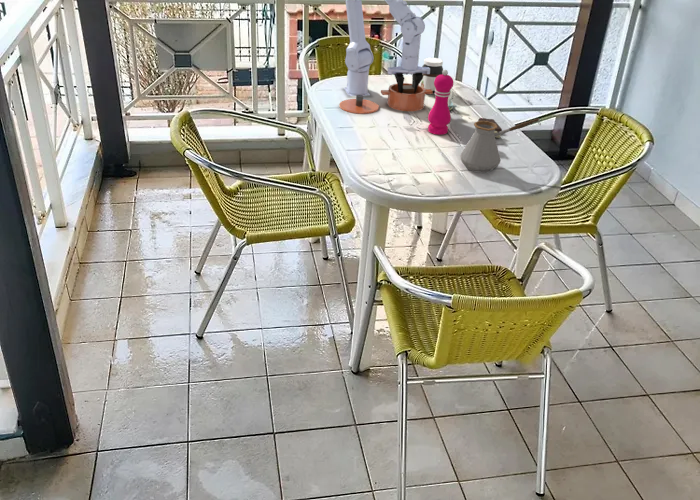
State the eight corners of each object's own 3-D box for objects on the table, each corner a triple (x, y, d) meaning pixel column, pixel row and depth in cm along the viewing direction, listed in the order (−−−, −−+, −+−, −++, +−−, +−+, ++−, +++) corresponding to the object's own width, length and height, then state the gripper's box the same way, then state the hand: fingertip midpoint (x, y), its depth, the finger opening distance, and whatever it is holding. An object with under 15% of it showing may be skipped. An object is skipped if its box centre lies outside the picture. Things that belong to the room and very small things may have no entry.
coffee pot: (463, 175, 189) (471, 124, 182) (455, 158, 199) (461, 110, 191) (537, 176, 191) (548, 125, 184) (525, 159, 201) (534, 111, 194)
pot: (376, 101, 240) (377, 83, 237) (424, 100, 244) (426, 82, 241) (385, 113, 230) (386, 95, 227) (435, 112, 234) (437, 94, 230)
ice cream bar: (506, 139, 215) (491, 122, 227) (506, 134, 214) (492, 118, 226) (490, 139, 214) (476, 122, 227) (490, 134, 213) (477, 117, 226)
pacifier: (442, 112, 234) (458, 111, 235) (443, 95, 230) (459, 94, 232) (434, 105, 240) (450, 104, 241) (435, 88, 236) (451, 87, 238)
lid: (335, 102, 237) (336, 89, 235) (373, 101, 240) (374, 88, 237) (343, 115, 226) (344, 102, 223) (382, 114, 228) (383, 101, 226)
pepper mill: (448, 136, 214) (456, 74, 204) (425, 133, 215) (432, 71, 205) (449, 128, 220) (457, 67, 210) (427, 126, 221) (434, 65, 211)
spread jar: (416, 87, 257) (419, 56, 251) (445, 86, 259) (449, 56, 253) (425, 97, 247) (428, 65, 241) (454, 97, 249) (459, 65, 243)
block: (399, 96, 237) (400, 85, 235) (410, 96, 237) (411, 85, 235) (402, 100, 233) (403, 89, 231) (413, 100, 234) (414, 88, 232)
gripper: (392, 58, 223) (389, 98, 230) (434, 58, 226) (429, 97, 233) (387, 52, 229) (384, 91, 236) (428, 52, 232) (423, 91, 239)
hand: (406, 94), depth 235 cm, fingers closed on block, 4 cm apart
